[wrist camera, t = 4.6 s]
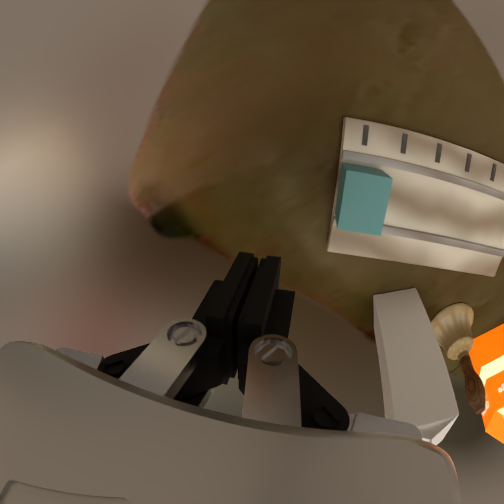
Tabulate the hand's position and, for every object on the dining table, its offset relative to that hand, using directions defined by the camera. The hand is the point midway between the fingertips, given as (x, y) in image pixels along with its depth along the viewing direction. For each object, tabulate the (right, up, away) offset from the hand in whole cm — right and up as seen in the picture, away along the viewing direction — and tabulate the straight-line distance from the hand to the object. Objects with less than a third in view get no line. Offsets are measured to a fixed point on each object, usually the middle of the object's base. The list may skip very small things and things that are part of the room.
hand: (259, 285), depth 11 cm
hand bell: (+29, -9, +20) cm, 37 cm away
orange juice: (+41, -15, +21) cm, 48 cm away
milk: (+19, -6, +21) cm, 29 cm away
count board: (+20, +7, +14) cm, 25 cm away
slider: (+10, +7, +13) cm, 18 cm away
